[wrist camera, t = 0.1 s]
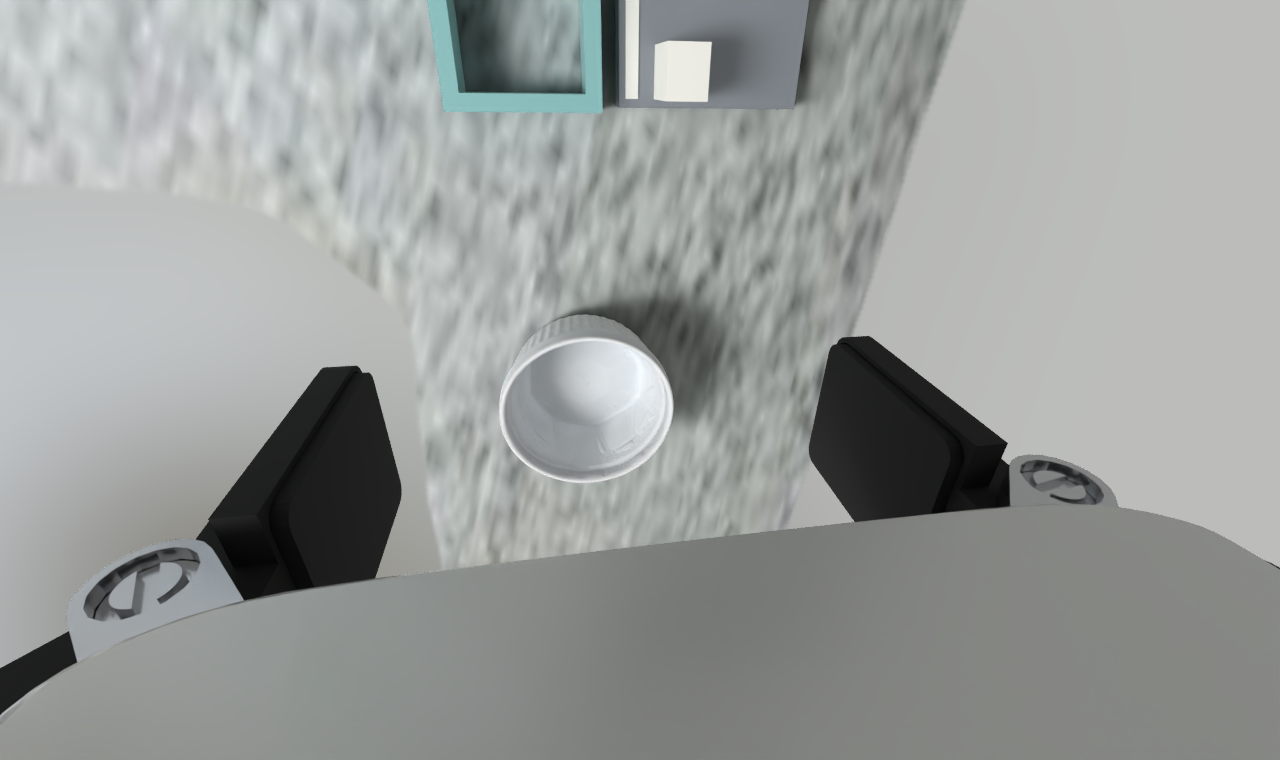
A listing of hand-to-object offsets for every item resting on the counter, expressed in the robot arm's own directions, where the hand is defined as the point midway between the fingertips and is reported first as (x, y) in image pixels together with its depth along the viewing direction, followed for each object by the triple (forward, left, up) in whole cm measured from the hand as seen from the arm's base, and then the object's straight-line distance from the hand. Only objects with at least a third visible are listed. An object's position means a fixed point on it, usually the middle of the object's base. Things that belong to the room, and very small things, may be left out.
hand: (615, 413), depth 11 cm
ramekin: (+16, +1, -32) cm, 35 cm away
